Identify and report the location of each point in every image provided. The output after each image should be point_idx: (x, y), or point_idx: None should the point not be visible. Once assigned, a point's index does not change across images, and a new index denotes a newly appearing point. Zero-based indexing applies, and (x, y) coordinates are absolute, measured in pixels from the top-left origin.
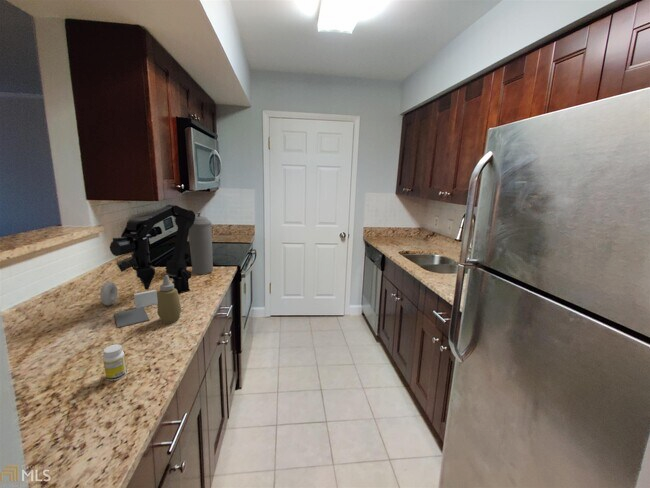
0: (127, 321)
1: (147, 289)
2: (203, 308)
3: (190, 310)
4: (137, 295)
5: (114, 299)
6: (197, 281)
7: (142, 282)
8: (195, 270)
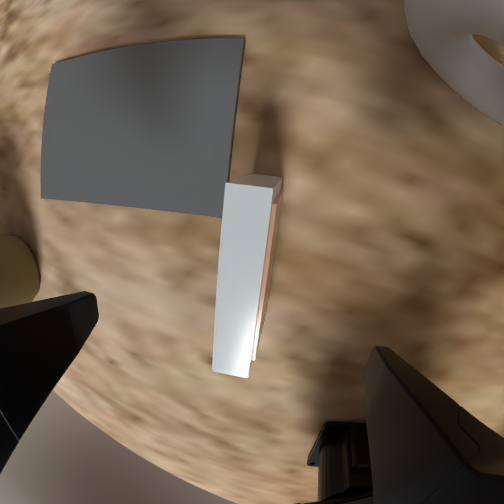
0: (73, 102)
1: (90, 309)
2: (73, 391)
3: None
4: (224, 209)
5: (465, 92)
6: None
7: (373, 359)
8: None
